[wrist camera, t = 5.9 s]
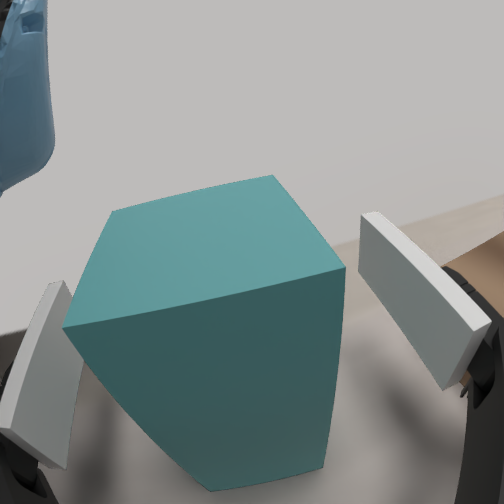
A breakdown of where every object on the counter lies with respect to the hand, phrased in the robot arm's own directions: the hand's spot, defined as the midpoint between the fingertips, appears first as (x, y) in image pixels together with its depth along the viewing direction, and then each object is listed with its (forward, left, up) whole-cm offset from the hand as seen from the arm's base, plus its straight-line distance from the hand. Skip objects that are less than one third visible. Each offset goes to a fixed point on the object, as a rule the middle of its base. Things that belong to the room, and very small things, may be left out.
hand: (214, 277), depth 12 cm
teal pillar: (0, -4, -6) cm, 7 cm away
